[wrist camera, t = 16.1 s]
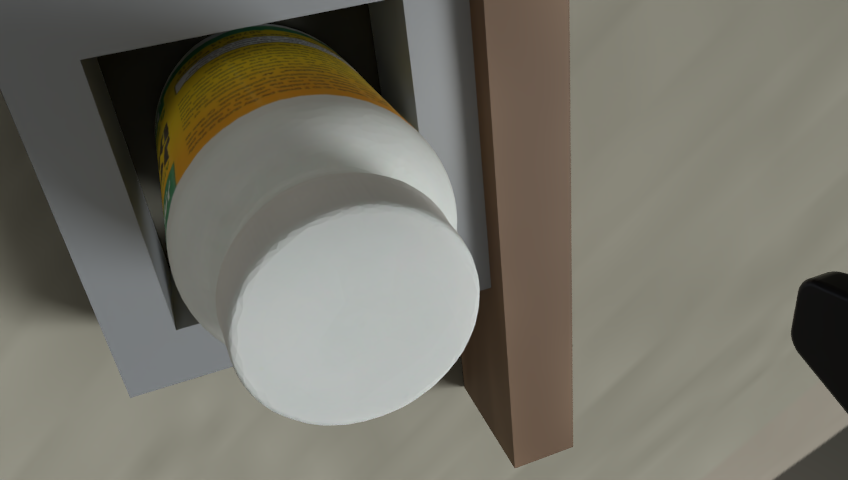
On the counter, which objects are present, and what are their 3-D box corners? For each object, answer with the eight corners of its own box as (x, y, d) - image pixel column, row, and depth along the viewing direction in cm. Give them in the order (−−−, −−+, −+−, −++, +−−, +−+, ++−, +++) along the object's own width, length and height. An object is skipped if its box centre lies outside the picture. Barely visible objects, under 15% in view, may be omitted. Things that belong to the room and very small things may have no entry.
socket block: (414, -103, 18) (462, -92, 15) (450, 237, 23) (491, 287, 20) (-15, -32, 15) (-40, -7, 13) (129, 329, 20) (130, 397, 18)
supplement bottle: (387, 170, 21) (550, 373, 13) (209, 247, 20) (267, 513, 12) (321, -17, 18) (479, 100, 10) (109, 66, 17) (103, 263, 9)
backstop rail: (467, -452, 15) (565, -532, 12) (516, 369, 26) (572, 446, 23) (374, -448, 15) (448, -529, 11) (464, 387, 26) (514, 468, 23)
